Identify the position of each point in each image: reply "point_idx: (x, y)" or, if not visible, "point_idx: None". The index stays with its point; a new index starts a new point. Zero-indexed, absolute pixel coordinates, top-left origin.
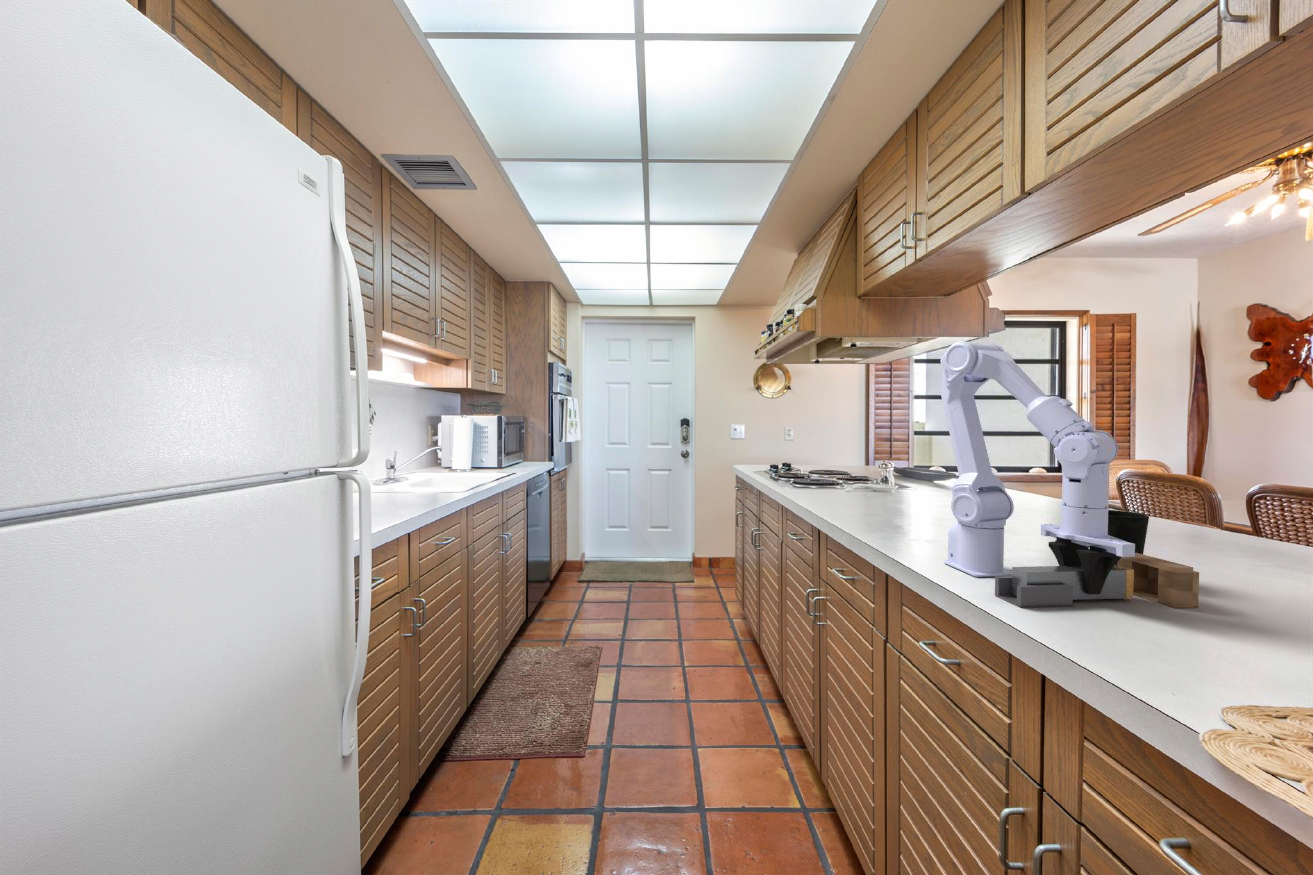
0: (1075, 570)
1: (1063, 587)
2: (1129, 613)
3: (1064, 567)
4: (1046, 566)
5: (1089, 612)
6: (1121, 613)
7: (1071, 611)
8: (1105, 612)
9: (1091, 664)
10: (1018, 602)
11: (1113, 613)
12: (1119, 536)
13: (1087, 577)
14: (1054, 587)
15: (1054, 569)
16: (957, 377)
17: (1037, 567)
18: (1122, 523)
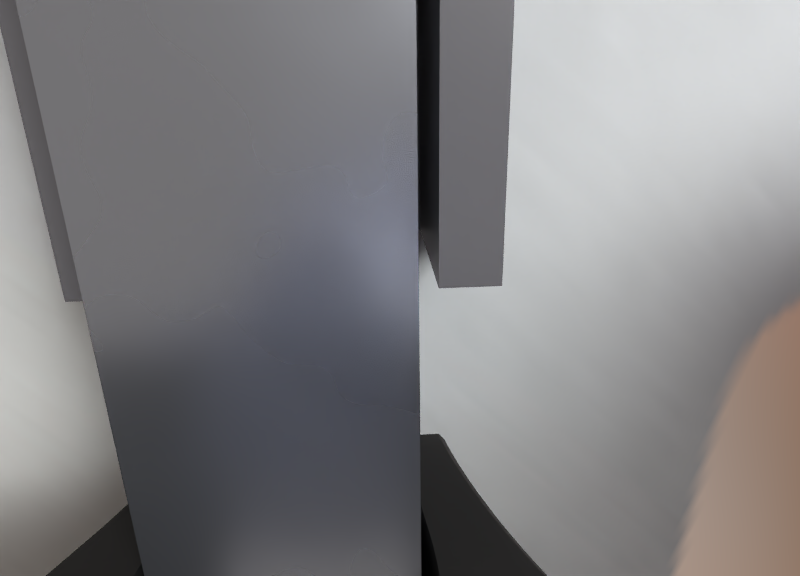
0: (176, 534)
1: (44, 172)
2: (44, 519)
3: (339, 506)
4: (399, 281)
5: (16, 260)
6: (35, 471)
7: (16, 120)
8: (39, 382)
9: None
10: None
11: (25, 420)
12: None
13: (97, 546)
14: (11, 34)
15: (219, 279)
16: None
17: (347, 59)
18: None
